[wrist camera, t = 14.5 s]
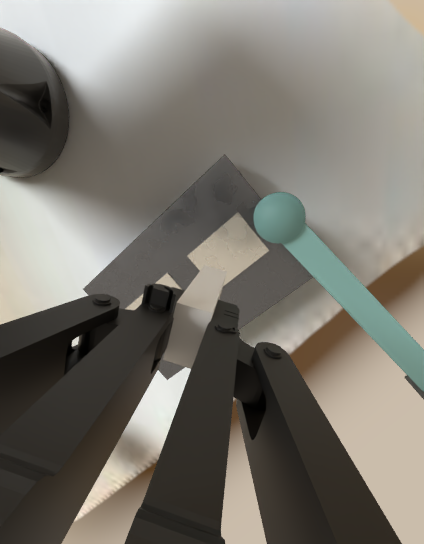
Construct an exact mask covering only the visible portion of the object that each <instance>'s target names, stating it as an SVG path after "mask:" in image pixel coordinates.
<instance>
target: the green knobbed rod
mask: <svg viewBox="0 0 424 544" xmlns="http://www.w3.org/2000/svg"><path fill="white" fill-rule="evenodd" d="M254 225H255V228H256V231H257V232H258V234H259V235H260V236H261V237H262V238H263V239H265V240H266V241H269V242H271V243H282V244H283V245H284V246H285V247H286V248H287V250H288V251H289V252H290V253H291V254H292V255H293V256H294V257H295V258H296V259H297V260H298V261H299V262H300V263H301V264H302V265H303V266H304V267H305V268H306V269H307V270H308V272H309V273H310V274H311V275H312V276H313V277H314V278H315V279H316V280H317V281H318V282H319V283H320V284H321V285H322V286H323V287H324V288H325V289H326V290H327V291H328V292H329V294H330V295H331V296H332V297H333V298H334V299H335V300H336V301H337V302H338V303H339V304H340V305H341V306H342V307H343V308H344V309H345V310H346V311H347V312H348V313H349V314H350V316H351V317H352V318H353V319H354V320H355V321H356V322H357V323H358V324H359V325H360V326H361V327H362V328H363V329H364V330H365V331H366V332H367V333H368V334H369V335H370V336H371V337H372V339H373V340H375V342H376V343H377V344H378V345H379V346H380V347H381V348H382V349H383V350H384V351H385V352H386V353H387V354H388V355H389V356H390V357H391V358H392V359H393V361H395V363H396V364H397V365H398V366H399V367H400V368H401V369H402V370H403V371H404V372H405V373H406V374H407V376H405V378H406V380H407V381H408V382H409V383H410V384H411V385H412V386H413V388H414V389H415V390H416V391H417V392H418V393H419V395H420V396H421V397H422V398H423V399H424V350H423V348H422V347H420V345H419V344H418V343H417V342H416V341H415V340H414V339H413V338H412V337H411V336H410V335H409V334H408V332H407V331H406V330H405V329H404V328H403V327H402V326H401V325H400V324H399V323H398V322H397V321H396V320H395V319H394V318H393V317H392V315H391V314H390V313H389V312H388V311H387V310H386V309H385V308H384V307H383V306H382V305H381V304H380V303H379V302H378V301H377V300H376V298H375V297H374V296H373V295H372V294H371V293H370V292H369V291H368V290H367V289H366V288H365V287H364V285H363V284H362V283H361V282H360V281H359V280H358V279H357V278H356V277H355V276H354V275H353V274H352V273H351V272H350V271H349V269H348V268H347V267H346V266H345V265H344V264H343V263H342V262H341V261H340V260H339V259H338V258H337V257H336V256H335V254H334V253H333V252H332V251H331V250H330V249H329V248H328V247H327V246H326V245H325V244H324V243H323V242H322V241H321V240H320V238H319V237H318V236H317V235H316V234H315V233H314V232H313V231H312V230H311V229H310V228H309V227H308V226H307V225H306V223H305V210H304V207H303V205H302V203H301V202H300V200H299V199H298V198H297V197H295V196H294V195H292V194H289V193H285V192H276V193H273V194H270V195H268V196H266V197H264V198H263V199H262V200H261V201H260V202H259V203H258V204H257V206H256V208H255V211H254Z"/></svg>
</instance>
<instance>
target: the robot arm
mask: <svg viewBox="0 0 424 544" xmlns="http://www.w3.org/2000/svg"><path fill="white" fill-rule="evenodd" d="M68 124H69V113H68V104H67V99H66V95H65V92H64V89H63V86H62V83H61V81H60V79H59V77H58V75H57V73H56V72H55V70H54V68H53V67H52V65H51V64H50V63H49V62H48V60H47V59H46V58H45V57H44V56H43V55H42V54H41V53H40V52H39V51H38V50H36V49H35V48H34V47H32V46H31V45H30V44H28V43H27V42H25V41H24V40H23V39H21V38H20V37H18V36H17V35H15V34H13V33H11V32H9V31H7V30H5V29H3V28H0V175H3V176H12V177H29V176H33V175H36V174H39V173H41V172H43V171H44V170H46V169H47V168H49V167H50V166H51V165H52V164H53V163H54V162H55V160H56V159H57V158H58V156H59V155H60V153H61V151H62V149H63V147H64V144H65V141H66V137H67V133H68ZM226 274H227V271H223V270H220V269H216V268H213V267H209V266H206V265H204V266H203V268H202V269H201V270H200V272H199V273H198V274H197V276H196V277H195V278H194V280H193V281H192V282H191V284H190V285H189V286H188V288H187V289H186V290H185V291H184V290H181V289H178V288H174V287H169V286H166V285H162V284H154V283H153V284H147V285H145V288H144V293H143V298H142V303H141V305H140V306H139V307H138V308H136V309H135V310H127V309H120V308H119V306H120V301H119V300H118V299H117V298H115V297H113V296H110V295H108V294H106V295H105V294H94V295H89V296H86V297H83V298H80V299H77V300H74V301H71V302H68V303H65V304H62V305H59V306H56V307H53V308H50V309H47V310H44V311H41V312H38V313H35V314H32V315H29V316H25V317H22V318H19V319H16V320H13V321H10V322H7V323H4V324H1V325H0V544H61V543H62V541H63V539H64V538H65V536H66V534H67V532H68V530H69V529H70V526H71V525H72V523H73V521H74V520H75V518H76V516H77V514H78V512H79V511H80V509H81V507H82V505H83V503H84V502H85V500H86V498H87V496H88V494H89V493H90V491H91V489H92V487H93V485H94V484H95V482H96V480H97V478H98V476H99V475H100V473H101V471H102V469H103V467H104V466H105V464H106V462H107V460H108V458H109V457H110V455H111V453H112V451H113V449H114V448H115V446H116V444H117V442H118V440H119V439H120V437H121V435H122V433H123V431H124V430H125V428H126V426H127V424H128V422H129V421H130V419H131V417H132V415H133V413H134V411H135V410H136V408H137V406H138V404H139V402H140V401H141V399H142V397H143V395H144V393H145V392H146V390H147V388H148V386H149V384H150V383H151V381H152V379H153V377H154V375H155V374H156V372H157V370H158V368H159V366H160V362H161V358H162V355H163V353H164V352H165V353H164V358H163V360H165V361H169V362H172V363H175V364H178V365H181V366H184V367H187V368H191V372H190V374H189V377H188V380H187V383H186V385H185V388H184V391H183V394H182V396H181V399H180V402H179V405H178V407H177V410H176V413H175V416H174V418H173V421H172V424H171V427H170V429H169V432H168V435H167V438H166V440H165V443H164V446H163V448H162V451H161V454H160V457H159V459H158V462H157V465H156V468H155V471H154V473H153V476H152V479H151V481H150V484H149V487H148V490H147V493H146V495H145V498H144V500H143V503H142V505H141V507H140V508H139V509H138V511H137V513H136V516H135V518H134V521H133V523H132V526H131V528H130V531H129V533H128V536H127V539H126V541H125V544H225V540H224V539H223V538H222V537H221V518H222V509H223V499H224V488H225V477H226V467H227V457H228V446H229V436H230V425H231V415H232V404H233V397H235V398H236V399H237V405H236V406H237V411H238V415H239V420H240V424H241V429H242V433H243V438H244V442H245V447H246V451H247V456H248V460H249V465H250V469H251V474H252V478H253V483H254V487H255V492H256V496H257V501H258V505H259V510H260V514H261V519H262V523H263V528H264V532H265V537H266V541H267V544H402V543H401V542H400V540H399V538H398V537H397V535H396V533H395V531H394V530H393V528H392V526H391V525H390V523H389V521H388V520H387V518H386V516H385V515H384V513H383V511H382V510H381V508H380V506H379V505H378V503H377V501H376V500H375V498H374V496H373V495H372V493H371V491H370V490H369V488H368V486H367V485H366V483H365V481H364V480H363V478H362V476H361V475H360V473H359V471H358V470H357V468H356V466H355V465H354V463H353V461H352V460H351V458H350V456H349V455H348V453H347V451H346V449H345V448H344V446H343V445H342V443H341V441H340V439H339V438H338V436H337V434H336V433H335V431H334V430H333V428H332V426H331V424H330V423H329V421H328V419H327V418H326V416H325V414H324V413H323V411H322V409H321V408H320V406H319V405H318V403H317V401H316V399H315V398H314V396H313V394H312V393H311V391H310V389H309V388H308V386H307V385H306V383H305V381H304V379H303V378H302V376H301V374H300V373H299V371H298V369H297V368H296V366H295V364H294V363H293V361H292V359H291V358H290V356H289V355H288V353H287V352H286V351H285V350H283V349H282V348H281V347H280V346H278V345H276V344H273V343H272V344H271V343H268V342H261V343H258V344H257V345H256V347H255V348H253V347H251V346H249V345H248V344H246V343H244V342H243V341H242V340H241V339H240V338H239V330H238V320H239V311H240V310H239V308H238V307H237V305H234V304H231V303H228V302H224V301H221V300H219V299H220V295H221V292H222V288H223V285H224V281H225V277H226ZM78 336H79V342H78V345H76V346H74V347H72V340H74V339H75V338H76V337H78Z"/></svg>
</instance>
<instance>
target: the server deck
mask: <svg viewBox="0 0 424 544" xmlns="http://www.w3.org/2000/svg"><path fill="white" fill-rule="evenodd" d="M260 201H261V199H260V197H259V196H258V195H257V194H256V192H255V191H254V190H253V189H252V187H251V186H250V185H249V184H248V182H247V181H246V180H245V179H244V177H243V176H242V175H241V174H240V172H239V171H238V170H237V169H236V167H235V166H234V165H233V164H232V162H231V161H230V160H229V159H228V157H227V156H226V155H224V156H223V157H222V158H221V159H220V160H218V161H217V162H216V163H215V164H214V165H213V166H212V167H211V168H210V169H209V170H208V171H207V172H206V173H205V174H204V175H203V176H202V177H201V178H199V179H198V180H197V181H196V182H195V183H194V184H193V185H192V186H191V187H190V188H189V189H188V190H187V191H186V192H185V193H184V194H183V195H182V196H181V197H179V198H178V199H177V200H176V201H175V202H174V203H173V204H172V205H171V206H170V207H169V208H168V209H167V210H166V211H165V212H164V213H163V214H162V215H161V216H159V217H158V218H157V219H156V220H155V221H154V222H153V223H152V224H151V225H150V226H149V227H148V228H147V229H146V230H145V231H144V232H143V233H142V234H141V235H139V236H138V237H137V238H136V239H135V240H134V241H133V242H132V243H131V244H130V245H129V246H128V247H127V248H126V249H125V250H124V251H123V252H122V253H121V254H119V255H118V256H117V257H116V258H115V259H114V260H113V261H112V262H111V263H110V264H109V265H108V266H107V267H106V268H105V269H104V270H103V271H102V272H101V273H99V274H98V275H97V276H96V277H95V278H94V279H93V280H92V281H91V282H90V283H89V284H88V285H87V286H86V287H85V288H84V289H83V290H84V291H85V292H86V293H87V294H88V295H94V294H105V295H106V294H108V295H110V296H113V297H115V298H117V299H118V300H119V301H120V306H119V308H120V309H127V310H135V309H136V308H138V307H139V306H140V305H141V303H142V298H143V293H144V288H145V285H147V284H153V283H154V284H162V285H166V286H169V287H174V288H178V289H181V290H184V291H185V290H186V289H187V288H188V286H189V285H190V284H191V282H192V281H193V280H194V278H195V277H196V276H197V274H198V273H199V272H200V270H201V269H202V268H203V266H204V265H206V266H209V267H213V268H216V269H220V270H223V271H227V274H226V277H225V281H224V285H223V288H222V292H221V295H220V299H219V300H221V301H224V302H228V303H231V304H234V305H237V307H238V308H239V310H240V311H239V320H238V330H239V329H240V328H242V327H243V326H244V325H246V324H247V323H249V322H250V321H251V320H253V319H254V318H256V317H257V316H259V315H260V314H261V313H263V312H264V311H266V310H267V309H269V308H270V307H271V306H273V305H274V304H276V303H277V302H278V301H280V300H281V299H283V298H284V297H286V296H287V295H288V294H290V293H291V292H293V291H294V290H295V289H297V288H298V287H300V286H301V285H303V284H304V283H305V282H307V281H308V280H310V279H311V278H313V276H312V275H311V274H310V273H309V272H308V270H307V269H306V268H305V267H304V266H303V265H302V264H301V263H300V262H299V261H298V260H297V259H296V258H295V257H294V256H293V255H292V254H291V253H290V252H289V251H288V250H287V248H286V247H285V246H284V245H283V244H282V243H271V242H269V241H266V240H265V239H263V238H262V237H261V236H260V235H259V234H258V232H257V231H256V228H255V225H254V211H255V208H256V206H257V204H258V203H259V202H260ZM164 353H165V352H164ZM164 353H163V355H162V358H161V362H160V366H159V368H158V370H159V371H160V372H161V373H162V375H163V376H164V377H165V378H166V379H167V380H168V379H169V378H171V377H172V376H173V375H175V374H176V373H178V372H179V371H180V370H182V369H183V368H185V367H184V366H181V365H178V364H175V363H172V362H169V361H165V360H163V358H164Z"/></svg>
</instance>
